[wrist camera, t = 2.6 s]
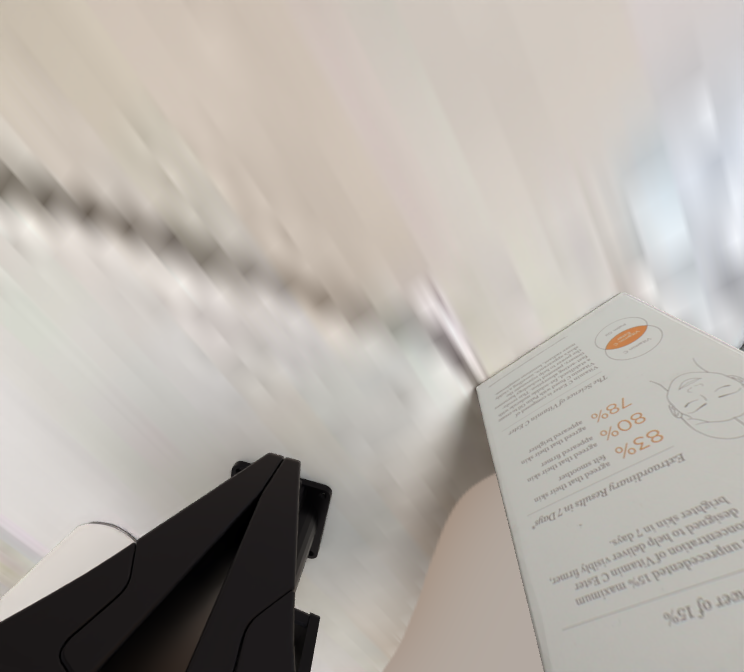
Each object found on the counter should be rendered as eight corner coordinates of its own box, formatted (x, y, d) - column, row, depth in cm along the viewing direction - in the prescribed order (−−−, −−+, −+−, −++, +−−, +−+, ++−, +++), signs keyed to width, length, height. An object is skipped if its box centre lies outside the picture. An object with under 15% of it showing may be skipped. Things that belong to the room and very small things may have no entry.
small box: (543, 465, 20) (720, 892, 8) (472, 385, 18) (548, 741, 6) (698, 386, 17) (1373, 875, 5) (625, 285, 16) (1269, 597, 4)
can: (145, 530, 27) (-50, 761, 16) (154, 584, 30) (-9, 815, 19) (68, 510, 28) (-171, 721, 17) (83, 565, 30) (-116, 779, 19)
